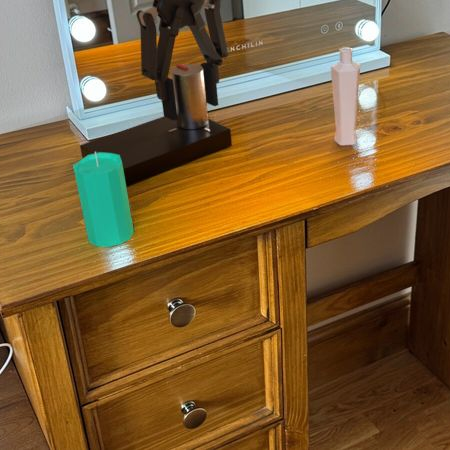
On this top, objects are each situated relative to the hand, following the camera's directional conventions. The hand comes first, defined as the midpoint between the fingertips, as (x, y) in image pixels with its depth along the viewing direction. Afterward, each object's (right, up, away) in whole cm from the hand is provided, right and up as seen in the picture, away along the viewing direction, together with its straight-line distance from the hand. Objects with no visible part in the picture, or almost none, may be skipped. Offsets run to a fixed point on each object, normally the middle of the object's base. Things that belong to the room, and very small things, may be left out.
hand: (191, 110), depth 122 cm
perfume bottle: (+25, -5, +1) cm, 25 cm away
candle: (-7, -20, -22) cm, 30 cm away
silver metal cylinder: (0, -2, +1) cm, 2 cm away
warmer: (-5, -7, -1) cm, 9 cm away
